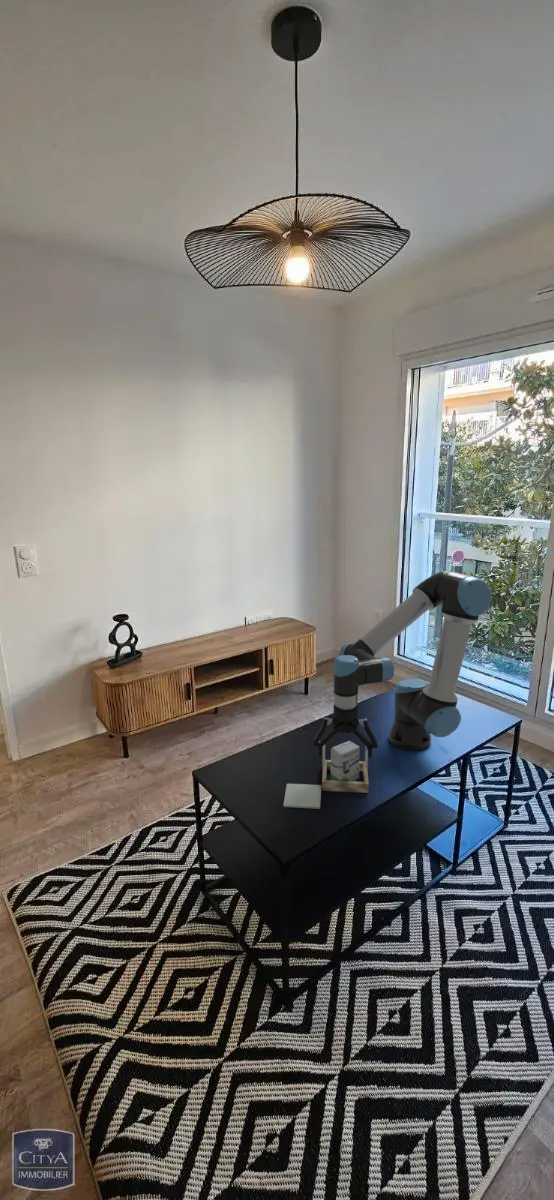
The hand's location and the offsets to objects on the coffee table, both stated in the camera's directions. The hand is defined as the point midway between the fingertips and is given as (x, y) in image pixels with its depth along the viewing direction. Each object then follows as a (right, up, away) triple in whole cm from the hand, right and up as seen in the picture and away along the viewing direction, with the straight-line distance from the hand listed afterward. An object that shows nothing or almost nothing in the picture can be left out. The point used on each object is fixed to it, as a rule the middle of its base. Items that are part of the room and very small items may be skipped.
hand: (344, 765), depth 165 cm
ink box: (0, -5, +1) cm, 6 cm away
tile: (-14, -8, -7) cm, 17 cm away
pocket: (0, -5, +1) cm, 5 cm away
